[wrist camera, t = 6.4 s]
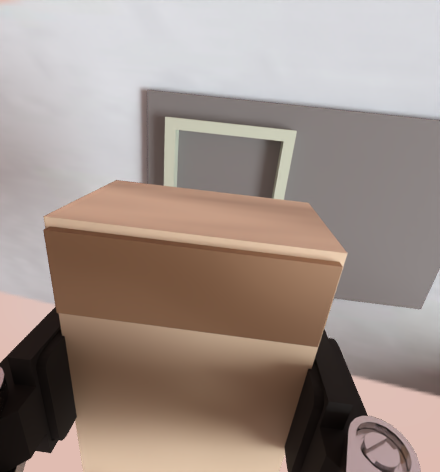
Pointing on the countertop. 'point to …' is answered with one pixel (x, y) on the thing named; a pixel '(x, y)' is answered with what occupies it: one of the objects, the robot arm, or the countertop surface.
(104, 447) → the block
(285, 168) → the tray
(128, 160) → the countertop surface
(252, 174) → the mat
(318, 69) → the countertop surface
